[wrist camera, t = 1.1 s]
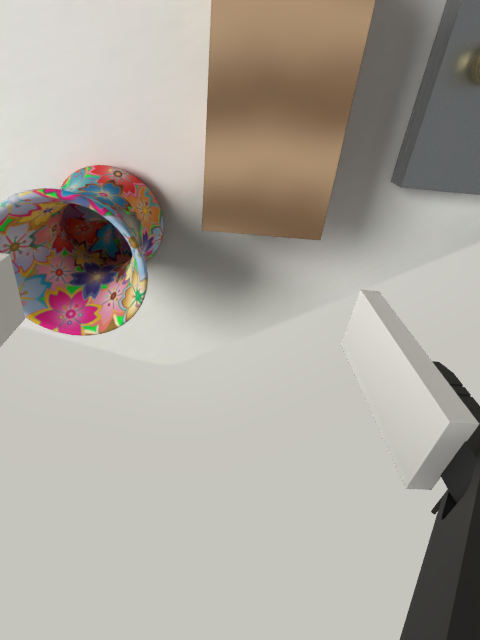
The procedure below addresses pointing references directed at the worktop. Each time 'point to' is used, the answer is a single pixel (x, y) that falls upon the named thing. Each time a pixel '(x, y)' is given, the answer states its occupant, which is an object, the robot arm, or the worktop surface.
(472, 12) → the mount rail
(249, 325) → the worktop surface
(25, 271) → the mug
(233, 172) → the brown wooden block
